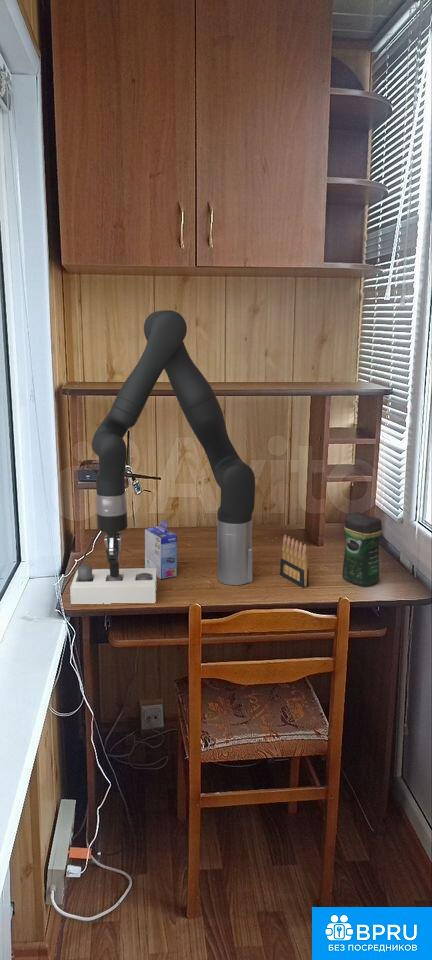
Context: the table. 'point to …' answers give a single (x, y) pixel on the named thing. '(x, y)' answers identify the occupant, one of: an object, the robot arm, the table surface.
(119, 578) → the knob middle
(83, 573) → the knob
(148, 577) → the knob
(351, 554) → the coffee jar
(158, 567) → the ink cartridge box
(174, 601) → the table surface
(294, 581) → the ammunition clip
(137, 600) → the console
